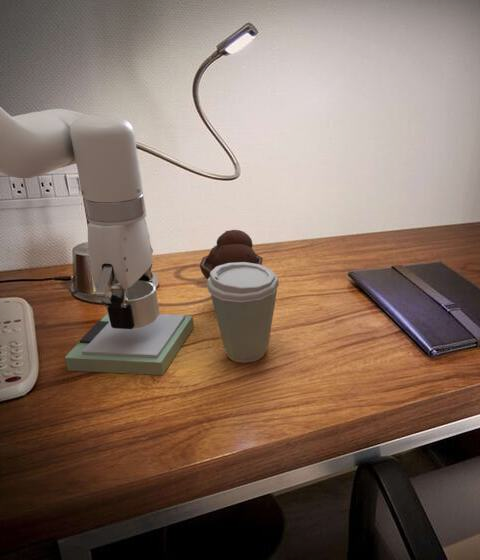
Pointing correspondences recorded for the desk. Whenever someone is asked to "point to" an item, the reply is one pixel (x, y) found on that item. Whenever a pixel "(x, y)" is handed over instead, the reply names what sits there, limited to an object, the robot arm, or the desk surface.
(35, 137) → the robot arm
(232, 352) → the disposable coffee cup
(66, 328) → the desk surface
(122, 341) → the scale
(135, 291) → the bowl
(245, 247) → the ice cream bowl
